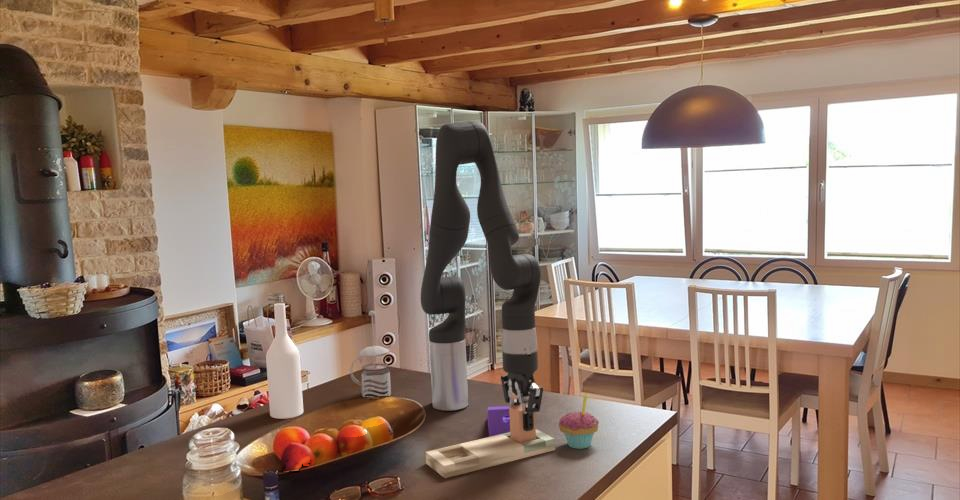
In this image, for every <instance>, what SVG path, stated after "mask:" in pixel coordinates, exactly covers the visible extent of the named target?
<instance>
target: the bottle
mask: <svg viewBox="0 0 960 500" xmlns="http://www.w3.org/2000/svg"><path fill="white" fill-rule="evenodd" d="M273 310H274V327H275V334H274V335H275V336H274V338H273V340H272V342H271V344H270V345H269V348H268V350H267V351H266V355H265V361H266V375H267V390H268V403H269V404H268V405H269V415H270V417H271V418H274V419H281V420H283V419H285V420H286V419H292V418H296V417H298V416H300V415H302V414H304V402H303V399H304V398H303V385H302V371H301V357H300V351H299V349H298V347H297V346H296V344H295V342H293V340H292V339H291V337H290V336H289V335H288V330H287V329H288V327H287V317H286V304H285V303H284V302H278V303H274V304H273Z"/></svg>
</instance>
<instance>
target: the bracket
mask: <svg viewBox="0 0 960 500" xmlns="http://www.w3.org/2000/svg"><path fill="white" fill-rule="evenodd" d="M509 407H510V406H509V405H507V406H505V405H504V406H488V407H487V416H486V417H487V427H488V428H487V429H488V437H491V436H495V435H500V434H504V433H508V432H510V415H509Z"/></svg>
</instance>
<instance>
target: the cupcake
mask: <svg viewBox="0 0 960 500" xmlns="http://www.w3.org/2000/svg"><path fill="white" fill-rule="evenodd" d="M587 398H588V391H585V394H584V395H583V402H582V409H581V410H580V411H574V412H568V413H566V414H565V415H563V416H561V418H559V421H558V427H559V431H560V432H562V433H563V435H564V436H565V439H566V441H567V444H568V446H569V447H570V448H572V449H578V450H579V449H580V450H581V449H587V448H589V447H590V446H591V445H592V441H593V437H594V434H595V433H597V432H598V430H599V423H600V422H599V421H598V419H597V418H596V417H595V416H594V415H592V414H591V413H589V412H586V407H587V400H588V399H587Z"/></svg>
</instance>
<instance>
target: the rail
mask: <svg viewBox="0 0 960 500" xmlns="http://www.w3.org/2000/svg"><path fill="white" fill-rule="evenodd" d="M555 440H556V439H555V438H554V437H553V436H550V435H548V434H546V433H544V432H543V431H541V430H540V429H537V428H536V440H532V441H528V442H524V443H520V444H519V443H518V442H516V441H514V440H512V439H511V438H510V432H508V433H504V434H500V435H495V436H491V437H489V436H487V437H483V438H479V439H474V440H470V441H466V442H465V441H464V442H461V443H458V444H453V445H449V446H445V447H440V448H436V449H432V450H427V451H425V464H426V465H428V467H430V468H431V469H432V470H433V471H435V472H436V473H438V474H439V475H440V476H441V477H442V478H444V479H448V478H451V477H455V476H459V475H463V474H468V473H471V472H475V471H479V470H483V469H487V468H491V467H494V466H499V465H502V464H507V463H509V462H510V463H511V462H514V461H517V460H522V459H525V458H528V457H529V458H530V457H533V456H537V455H541V454H545V453H548V452H552V451H555V450H556V441H555Z"/></svg>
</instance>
